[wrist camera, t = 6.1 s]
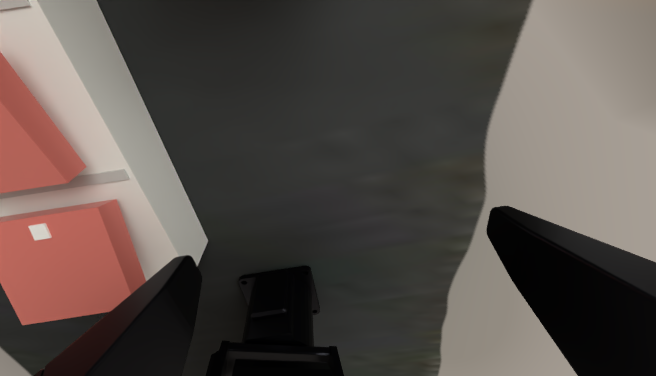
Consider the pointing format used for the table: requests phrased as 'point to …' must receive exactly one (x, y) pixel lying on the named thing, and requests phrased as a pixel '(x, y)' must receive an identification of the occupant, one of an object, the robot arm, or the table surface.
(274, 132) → the table surface
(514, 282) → the robot arm
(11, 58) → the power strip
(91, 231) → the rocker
